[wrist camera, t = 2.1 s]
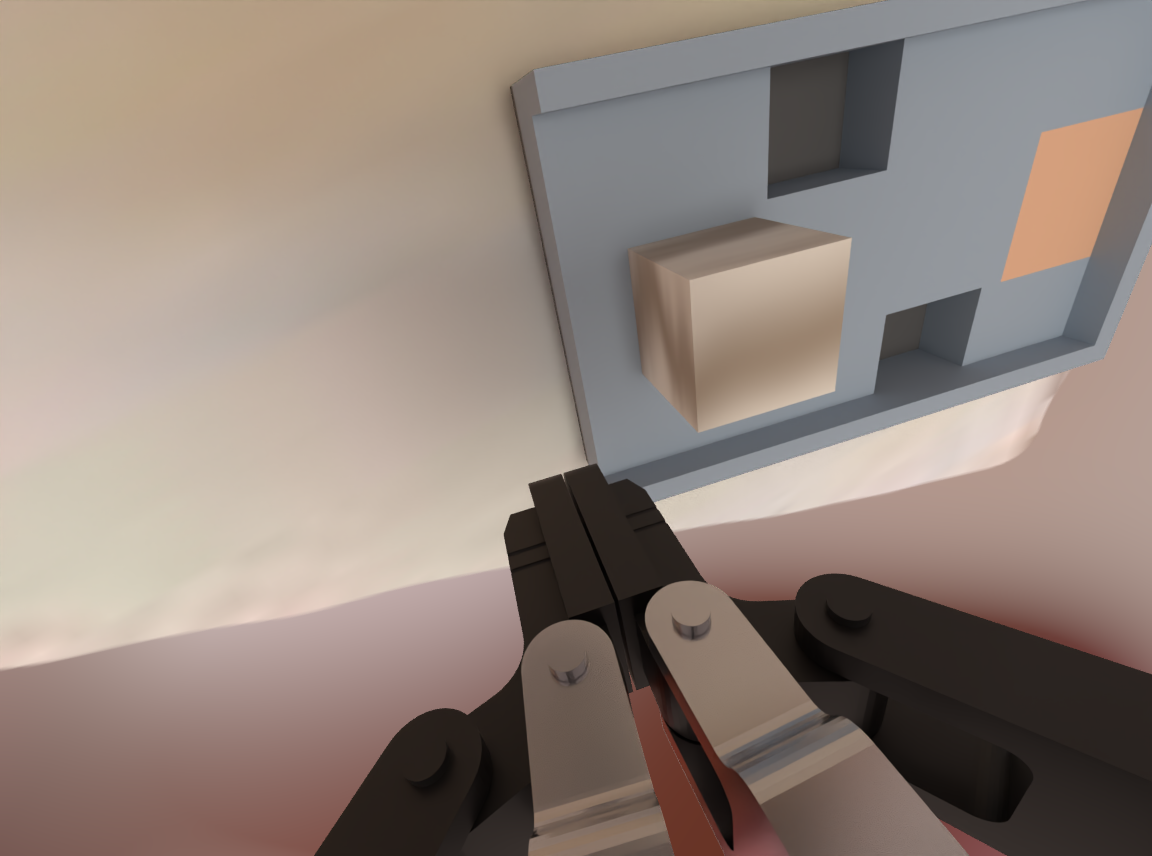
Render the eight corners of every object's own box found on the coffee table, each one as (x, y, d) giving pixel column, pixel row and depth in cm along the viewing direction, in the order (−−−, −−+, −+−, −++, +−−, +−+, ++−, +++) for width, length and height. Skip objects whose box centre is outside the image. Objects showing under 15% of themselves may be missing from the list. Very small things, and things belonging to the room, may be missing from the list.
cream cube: (627, 248, 18) (689, 280, 14) (754, 216, 18) (851, 237, 14) (642, 373, 20) (698, 432, 16) (753, 342, 21) (835, 391, 17)
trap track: (510, 86, 17) (533, 69, 13) (1126, -36, 20) (1286, -78, 17) (586, 460, 25) (614, 514, 22) (1014, 330, 29) (1103, 358, 25)
